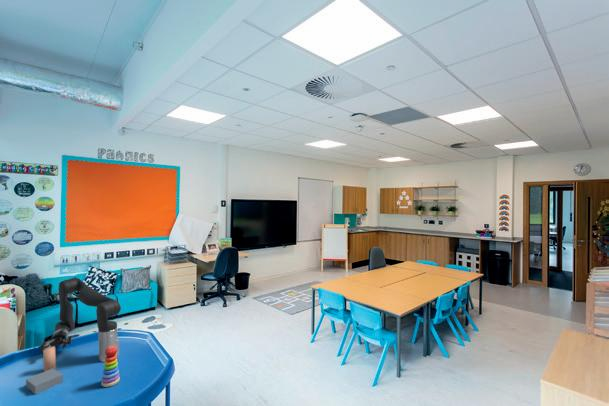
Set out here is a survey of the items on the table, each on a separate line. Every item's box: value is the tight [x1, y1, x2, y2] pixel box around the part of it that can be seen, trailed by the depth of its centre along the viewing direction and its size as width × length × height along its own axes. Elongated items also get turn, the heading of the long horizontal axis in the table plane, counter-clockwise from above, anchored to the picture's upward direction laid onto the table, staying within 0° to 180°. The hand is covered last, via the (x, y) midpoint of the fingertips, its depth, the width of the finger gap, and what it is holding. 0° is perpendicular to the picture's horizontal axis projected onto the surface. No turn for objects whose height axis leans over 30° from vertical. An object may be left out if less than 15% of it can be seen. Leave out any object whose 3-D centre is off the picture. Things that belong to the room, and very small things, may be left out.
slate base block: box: [25, 368, 64, 395], centre depth 152 cm, size 11×11×4 cm
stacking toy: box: [100, 346, 121, 388], centre depth 153 cm, size 8×8×19 cm
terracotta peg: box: [42, 346, 57, 372], centre depth 163 cm, size 5×5×12 cm
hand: (54, 348), depth 173 cm, fingers open, 8 cm apart
